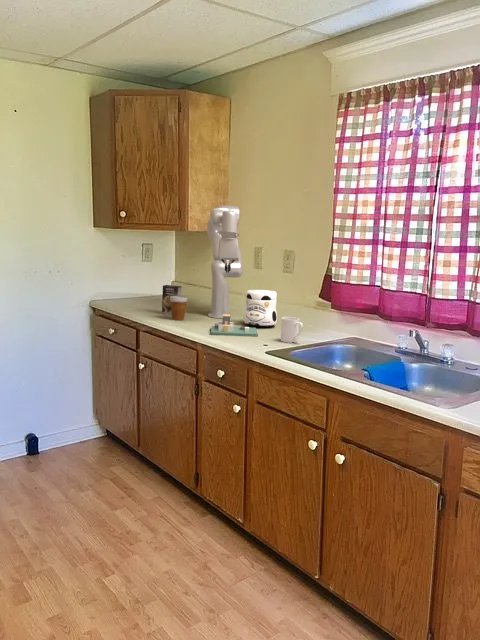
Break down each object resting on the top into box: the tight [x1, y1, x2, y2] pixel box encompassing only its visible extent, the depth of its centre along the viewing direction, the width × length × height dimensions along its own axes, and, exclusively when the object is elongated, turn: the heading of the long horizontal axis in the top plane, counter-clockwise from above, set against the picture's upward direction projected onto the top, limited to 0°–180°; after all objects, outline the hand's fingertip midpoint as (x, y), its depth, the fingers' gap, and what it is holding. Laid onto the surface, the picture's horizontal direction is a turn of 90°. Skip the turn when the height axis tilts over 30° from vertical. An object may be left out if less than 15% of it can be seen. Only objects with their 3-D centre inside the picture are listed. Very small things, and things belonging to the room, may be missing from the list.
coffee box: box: [161, 284, 182, 316], centre depth 313 cm, size 9×6×16 cm
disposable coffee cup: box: [170, 295, 188, 321], centre depth 298 cm, size 10×10×12 cm
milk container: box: [243, 289, 278, 328], centre depth 290 cm, size 17×17×18 cm
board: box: [210, 321, 259, 338], centre depth 271 cm, size 16×22×4 cm
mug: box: [280, 316, 304, 344], centre depth 254 cm, size 12×8×10 cm, turn 35°
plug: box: [221, 313, 231, 325], centre depth 270 cm, size 6×4×7 cm, turn 2°
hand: (227, 272), depth 285 cm, fingers closed
